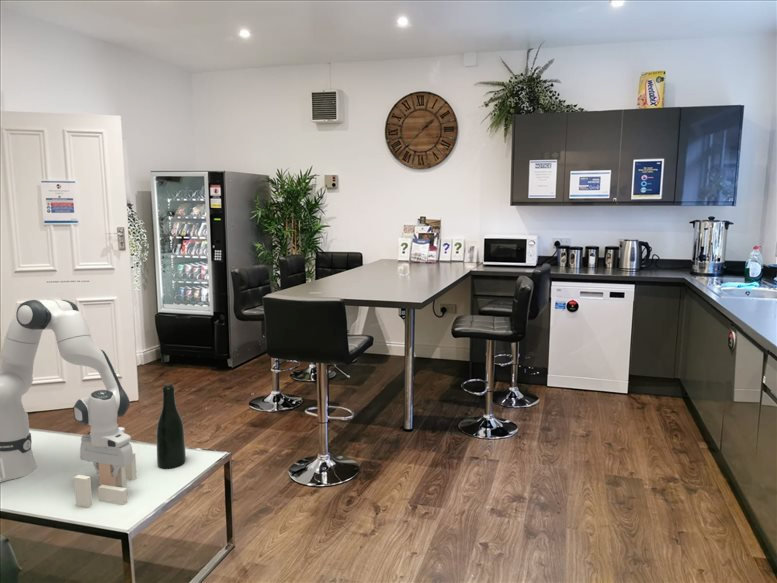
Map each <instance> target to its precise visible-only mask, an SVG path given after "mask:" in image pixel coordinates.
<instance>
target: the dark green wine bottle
mask: <svg viewBox="0 0 777 583" xmlns="http://www.w3.org/2000/svg"><path fill="white" fill-rule="evenodd" d="M175 390H176V389H175V386H174V384H173V383H172V382H166V383H164V384H163V387H162V406H161V408H162V409H161V412H160V414H159V418H158V421H157V423H156V424H157V425H156V436H155V437H156V463H157V468H159V469H161V470H172V469H173V470H174V469H176V468H179V467H182V466H183V465H185V463H186V462H187V458H186V441H185V427H184V421H183V419H182V417H181V415H180V413H179V411H178V408H177V403H176V398H175V397H176V395H175V392H176V391H175Z"/></svg>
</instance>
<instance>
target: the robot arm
mask: <svg viewBox="0 0 777 583" xmlns="http://www.w3.org/2000/svg"><path fill="white" fill-rule="evenodd" d="M44 330H51V331H52V332H53V333H54V335H55V336H54V337H55V341H56V346H57V349H58V352H59V354H60V356H61V357H62V359H63V360H64V361H66V362H67V363H70V364H73V365H76V366H81V367H86V368H87V367H88V368H91V369H94V370H96V372H97V373H99V375H100V379H101V380H102V382H103V384H104V387H105V389H98V390H95V391H93V392H91V393H90V394H89V396H85V397H82V398H79V399H77V401H76V402H75V404H74V406H73V410H72V412H73V418H74V420H75V422H77V423H79V424H81V425H84V426H87V425H89V426H90V431H89V432H90V434H91V435H88V433H85V434H84V435H82V436H81V438H80V441H81V442H80V448H79V449H80V450H79V457H80V459H81V461H84V462H90V463H92V465H93V467H94V469H95V470H96V474H97V475H99V464H98V463H102V464H108V465H113V468H114V470H113V471H112V472H111V476H114V477H116V476H117V475H118V470H119V468H120V467H126V466H128V465H130V464H131V463H132V462H133V453H134V452H133V446H132V444H131V441H132V437H131V435H130V434H128V433H125V432H122V431H121V430H119V429H118V427H119V424H118V423H117V422H118V421H117V420H118V418H122V417H124V416H125V415H126V413H127V412H128V411H129V408H130V406H131V402H130V398H129V395H128V394H127V393H126V391H125V390H124V388H123V387H122V385H121V382H120V380H119V377H118V376H117V373H116V371H115V370H114V367H113V365H112V363H111V361H110V358H109V356H108V355H107V353H106V352H105V351H104V350H103V349H100V348H98V346H97V345H96V344H95V342H94V341H93V338H92V335H91V332H90V329H89V326H88V324H87V320H86V319H85V317H84V315H83V313H82V312H80V310H79V308H78V306H77V305H76V304H75V303H74V302H72V301H71V300H66V299H61V300H60V299H53V298H52V299H50V298H48V299H29V300H27V301H26V300H25V301H24V302H21V303H20V304H19V306H18V307H17V310H16V313H14V315H13V317H12V319H11V321H10V323H9V325H8V326H7V330H6V333H5V337H4V340H3V343H2V347H1V350H0V361H1V362H0V483H2V482H5V481H11V480H16V479H20V478H22V477H26V476H28V475H30V474H32V473H34V472H35V471H36V470H37V467H38V466H37V464H36V461H35V458H34V454H33V450H32V433H31V432H30V423H29V421H30V420H29V414H28V412H27V411H25V408H24V406H23V405H24V404H23V402H22V401H23V400H22V397H23V396H24V395H25V394H26V393H27V392H29V391H30V388H31V386H32V384H33V382H34V377H33V374H34V364H35V363H34V362H35V359H36V354H37V352H38V347H39V344H40V341H41V337H42V333H43V331H44Z"/></svg>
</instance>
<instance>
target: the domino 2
mask: <svg viewBox="0 0 777 583" xmlns="http://www.w3.org/2000/svg"><path fill="white" fill-rule="evenodd" d="M98 464H99V474H98V475H99V486H101V485H108V486H115V487H117V486H116V482H115V477H114V476H111V472H112V471H113V470H114V468H113V465H108V464H102V463H98Z"/></svg>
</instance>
